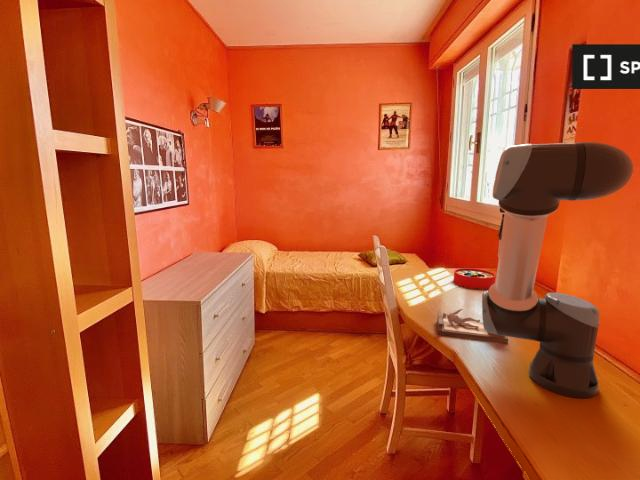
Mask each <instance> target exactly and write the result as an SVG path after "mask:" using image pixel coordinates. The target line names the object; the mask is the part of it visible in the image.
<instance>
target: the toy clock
mask: <svg viewBox="0 0 640 480" xmlns="http://www.w3.org/2000/svg"><path fill="white" fill-rule="evenodd" d="M453 273H454V274H453V283H454V284H456V285H457V284H458V286H461V287H463V286H464V287H465V288H468V287H470V288H469V289H474V288H480V289H479V290H486V289H488V290H489V288H490V287H491V286H492V285H493V284H494V283H496V278H497V274H496V273H494V272H492V271H489V270H485V269H481V268H471V267H462V268H457V269H454V271H453ZM464 287H463V288H464Z"/></svg>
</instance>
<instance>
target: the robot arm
mask: <svg viewBox="0 0 640 480" xmlns="http://www.w3.org/2000/svg"><path fill="white" fill-rule="evenodd" d="M633 173H634V163H633V160H632V158H631V157H630V156H629V155H628V154H627V152H625V151H624V150H622V149H620V148H619V147H617V146H613V145H611V144H607V143H603V142H595V141H594V142H593V141H582V142H559V143H525V144H518V145H510V146H507V147H506V148H504V150H503V151H502V153H501V155H500V158H499V162H498V165H497V168H496V173H495V177H494V182H493V183H494V184H493V186H492V198H493V199H494V200H497V201H498V206H499V213H501V215H502V216H501V222H500V227H499V231H498V234H497V237H498V240H499V242H498V250H497V251H498V252H497V257H498V263H497V271H496V277H495V283H494V284H493V285H492V286H491V287H490V288H489V289H488V290H485V291H483V292H482V296H481V309H482V311H481V315H482V323H483V326H484V329H485V330H486V331H487V332H489V333H493V334H497V335H500V336H507V337H508V338H516V339H521V340H528V341H534V342H538V343H539V348H538V350H537V352H536V353H535V355H534V356H533V358H532V360H531V362H530V364H529V368H528V374H529V377H530V378H531V380H533V381H534V382H535V383H536V384H537V385H539V386H541V387H543V388H544V389H546V390H549V391H550V392H552V393H555V394H558V395H562V396H566V397H569V398H577V399H588V398H592V397H595V396H596V395H597V394H598V391H599V380H598V376H597V372H596V367H595V365H594V356H595V350H596V344H597V343H596V342H597V339H598V338H597V337H598V330H599V327H600V311H599V309H598V307H596V305H595V304H593V303H592V302H589V301H588V300H585V299H583V298H580V297H577V296H574V295H571V294H567V293H561V292H548V293H546V294H545V295H544V298H543V297H539V296H538V294H537V291H535V290H534V288H535V287H534V285H535V282H536V277H537V272H538V267H539V263H540V258H541V257H540V256H541V252H542V248H543V242H544V236H545V233H546V228H547V222H548V218H549V216H550V215H552V214H554V213H555V212H557V210H558V209H559V205H560V202H561V201H574V202H575V201H578V202H579V201H589V200H590V201H591V200H596V199H601V198H604V197H607V196H610V195H612V194H615V193H617V192H618V191H620V190H622V189H623V188H624V187H626V185H627V184H628V183H629V182H630V180H631V178H632V175H633Z"/></svg>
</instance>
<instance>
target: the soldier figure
mask: <svg viewBox="0 0 640 480" xmlns="http://www.w3.org/2000/svg"><path fill="white" fill-rule="evenodd" d="M463 310H464V309H463V308H460V309H458V310H455V311H454V312H449V314H448V313H446V312H443V313H442V318H443V319H444V318H446V319H448V321H449V323H450V324H451V325H452V326H453V327H456V328H459V326H456V325H454V324H453V322H454V323H456V324H459V325H461V326H467V327H475V328H478V327H479V326H474V325H471V324H469V323H465V322H466V321H473V322H478V323H479V322H480V321H481V319H477V318H476V319H474V318H472V317H469V316H467V317H463V318H462V317H460V316H459V315H458V314H459V313H460V312H462V311H463Z"/></svg>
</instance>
